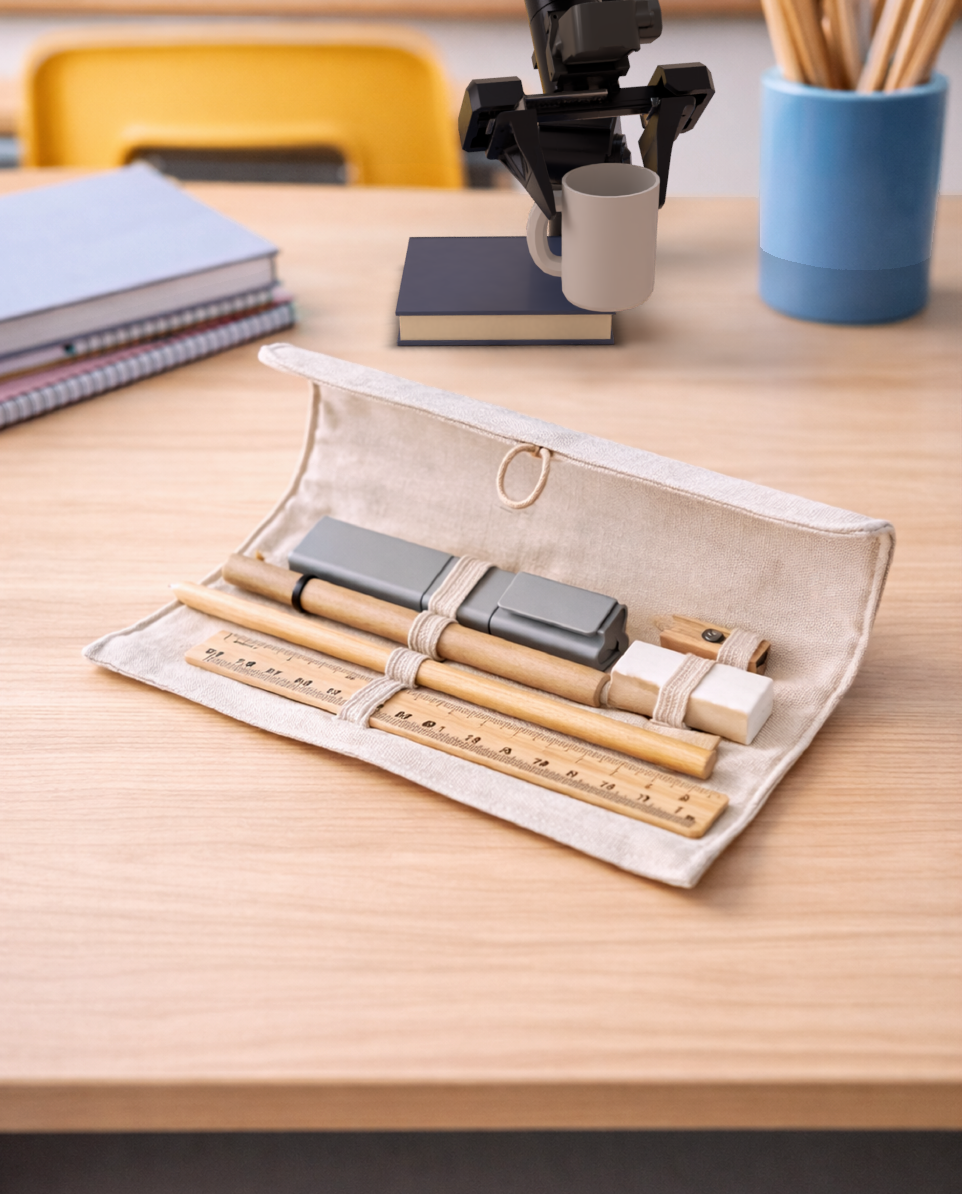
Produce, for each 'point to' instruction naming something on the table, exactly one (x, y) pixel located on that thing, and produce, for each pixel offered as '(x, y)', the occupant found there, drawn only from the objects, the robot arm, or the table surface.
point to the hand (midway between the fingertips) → (606, 212)
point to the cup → (602, 236)
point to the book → (489, 296)
